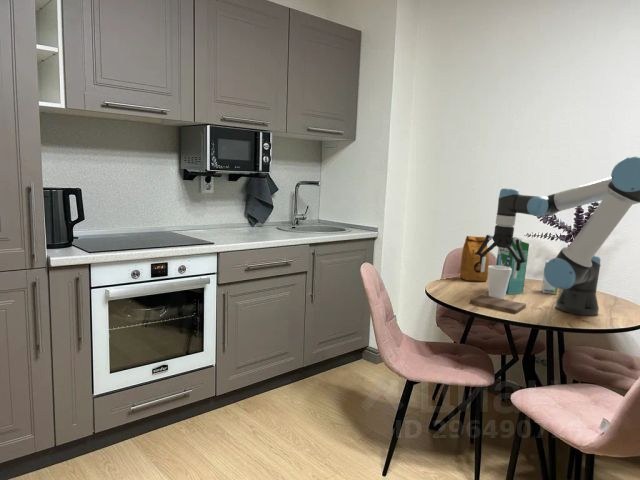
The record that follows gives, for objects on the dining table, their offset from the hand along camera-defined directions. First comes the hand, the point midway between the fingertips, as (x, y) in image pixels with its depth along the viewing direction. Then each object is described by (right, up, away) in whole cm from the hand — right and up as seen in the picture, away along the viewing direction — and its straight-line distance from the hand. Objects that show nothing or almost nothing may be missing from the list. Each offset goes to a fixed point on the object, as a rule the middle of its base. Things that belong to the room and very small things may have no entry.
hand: (498, 274), depth 207 cm
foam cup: (0, -10, +1) cm, 10 cm away
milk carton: (+9, -9, +14) cm, 19 cm away
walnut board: (-5, -11, -13) cm, 18 cm away
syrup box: (+30, -9, +17) cm, 35 cm away
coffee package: (0, -5, +34) cm, 34 cm away
